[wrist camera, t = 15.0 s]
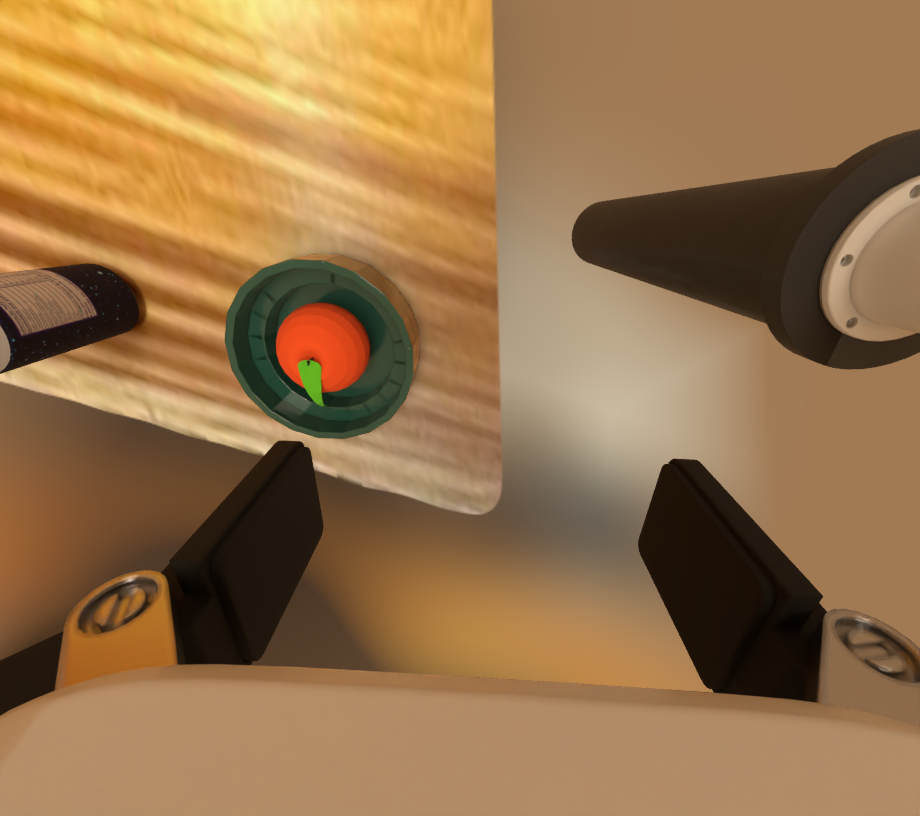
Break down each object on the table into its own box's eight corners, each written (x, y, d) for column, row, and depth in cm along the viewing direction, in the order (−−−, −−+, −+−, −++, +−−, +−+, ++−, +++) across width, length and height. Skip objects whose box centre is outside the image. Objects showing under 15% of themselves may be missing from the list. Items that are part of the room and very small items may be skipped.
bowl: (418, 257, 30) (410, 263, 26) (421, 414, 37) (415, 441, 32) (241, 250, 30) (203, 256, 26) (274, 409, 37) (247, 435, 32)
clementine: (381, 386, 35) (362, 423, 28) (305, 383, 35) (269, 419, 28) (375, 296, 31) (352, 316, 25) (291, 293, 31) (246, 311, 25)
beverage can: (63, 263, 31) (-151, 286, 20) (131, 261, 31) (-48, 283, 20) (94, 331, 34) (-82, 384, 23) (157, 330, 33) (10, 382, 23)
